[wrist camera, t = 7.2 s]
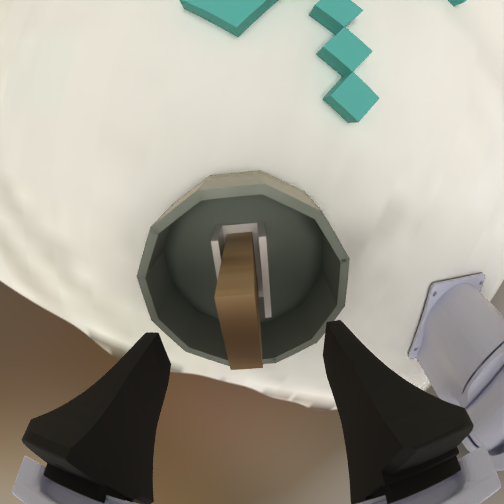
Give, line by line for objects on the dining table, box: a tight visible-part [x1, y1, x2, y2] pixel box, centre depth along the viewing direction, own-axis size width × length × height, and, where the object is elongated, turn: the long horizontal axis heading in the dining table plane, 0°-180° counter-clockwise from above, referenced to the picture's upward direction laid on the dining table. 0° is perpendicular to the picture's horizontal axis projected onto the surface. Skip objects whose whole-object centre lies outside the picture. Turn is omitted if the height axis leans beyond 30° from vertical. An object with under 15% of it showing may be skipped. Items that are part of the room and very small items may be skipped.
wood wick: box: [214, 232, 263, 370], centre depth 15 cm, size 4×2×7 cm, turn 6°
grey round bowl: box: [137, 171, 349, 366], centre depth 17 cm, size 12×12×4 cm
